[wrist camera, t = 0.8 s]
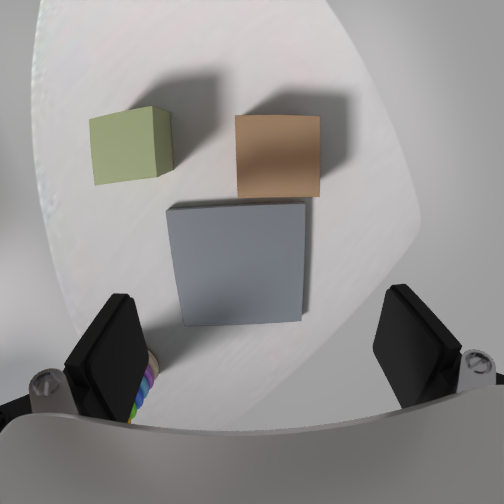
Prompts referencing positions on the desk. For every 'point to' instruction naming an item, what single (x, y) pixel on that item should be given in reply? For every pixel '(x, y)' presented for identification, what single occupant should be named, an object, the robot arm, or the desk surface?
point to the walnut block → (277, 156)
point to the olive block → (131, 145)
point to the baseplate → (238, 262)
